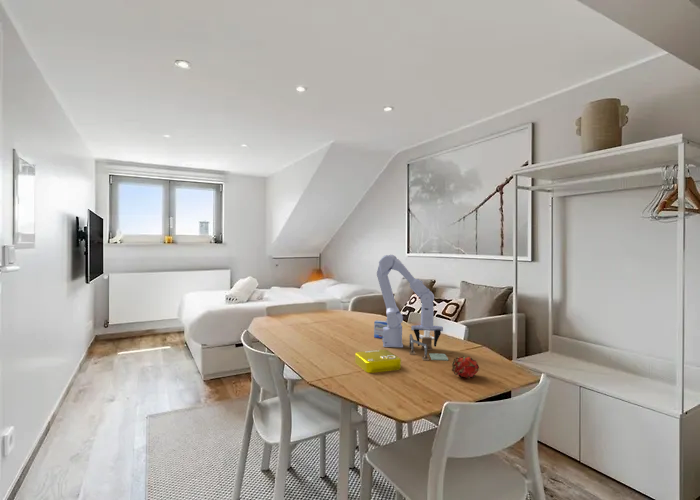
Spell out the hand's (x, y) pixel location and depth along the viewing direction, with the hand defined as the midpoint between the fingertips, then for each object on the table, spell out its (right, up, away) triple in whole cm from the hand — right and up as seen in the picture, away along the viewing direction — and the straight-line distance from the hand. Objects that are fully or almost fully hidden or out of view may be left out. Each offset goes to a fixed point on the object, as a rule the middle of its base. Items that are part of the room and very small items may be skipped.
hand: (426, 345), depth 176 cm
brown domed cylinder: (0, -2, 0) cm, 2 cm away
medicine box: (-19, -1, +21) cm, 28 cm away
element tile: (-25, -2, -25) cm, 36 cm away
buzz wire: (-6, -1, -8) cm, 10 cm away
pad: (+2, -2, -13) cm, 14 cm away
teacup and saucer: (+3, -2, +24) cm, 24 cm away
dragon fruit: (+7, -2, -37) cm, 37 cm away
